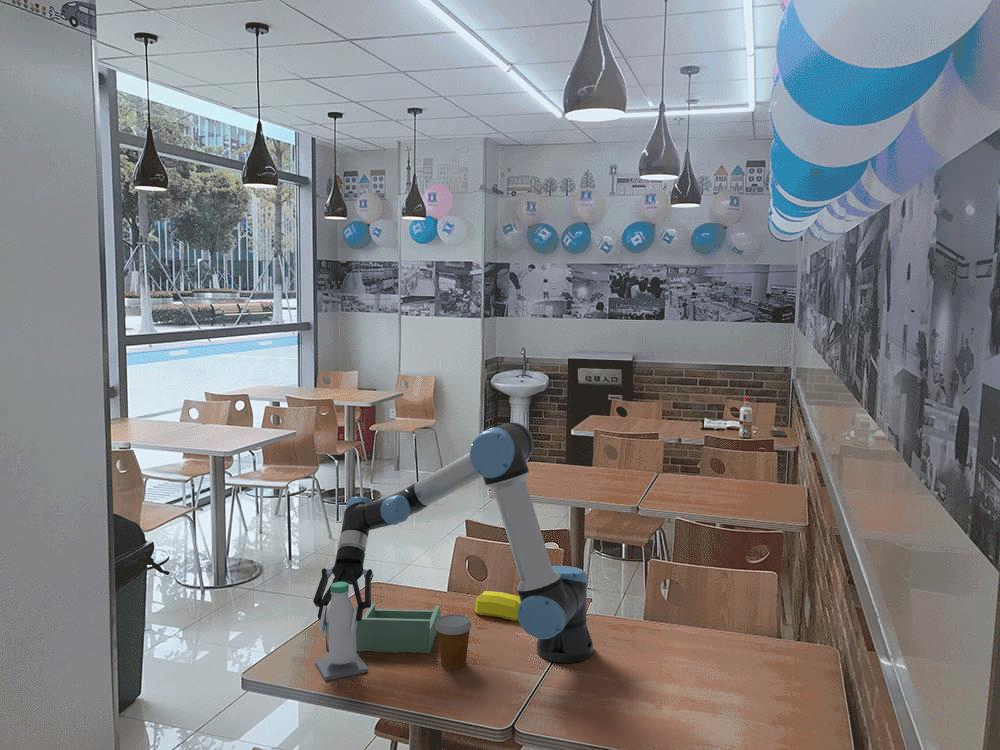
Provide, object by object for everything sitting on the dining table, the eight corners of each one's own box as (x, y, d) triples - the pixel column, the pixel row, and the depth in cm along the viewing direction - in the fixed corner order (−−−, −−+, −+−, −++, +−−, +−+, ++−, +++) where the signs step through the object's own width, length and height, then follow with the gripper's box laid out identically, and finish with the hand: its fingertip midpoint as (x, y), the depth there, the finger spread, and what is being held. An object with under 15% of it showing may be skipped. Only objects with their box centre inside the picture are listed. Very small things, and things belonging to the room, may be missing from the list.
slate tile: (368, 672, 213) (367, 668, 213) (325, 681, 209) (325, 677, 208) (356, 655, 223) (356, 652, 223) (315, 663, 218) (315, 659, 218)
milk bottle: (362, 655, 218) (360, 581, 216) (345, 667, 211) (343, 591, 209) (338, 650, 221) (336, 577, 219) (320, 662, 214) (318, 586, 212)
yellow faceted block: (522, 625, 244) (533, 615, 251) (522, 603, 243) (533, 594, 250) (468, 615, 251) (479, 606, 258) (468, 593, 251) (479, 585, 258)
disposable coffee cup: (455, 676, 211) (455, 630, 210) (428, 666, 217) (427, 621, 216) (479, 662, 219) (479, 618, 217) (451, 653, 224) (451, 610, 223)
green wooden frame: (372, 621, 246) (371, 592, 245) (440, 623, 245) (440, 593, 244) (355, 651, 226) (354, 619, 225) (429, 653, 224) (429, 621, 223)
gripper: (390, 558, 228) (379, 639, 213) (317, 556, 229) (301, 637, 215) (386, 545, 222) (373, 627, 208) (311, 543, 224) (294, 625, 209)
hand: (337, 632), depth 211 cm, fingers closed on milk bottle, 7 cm apart
